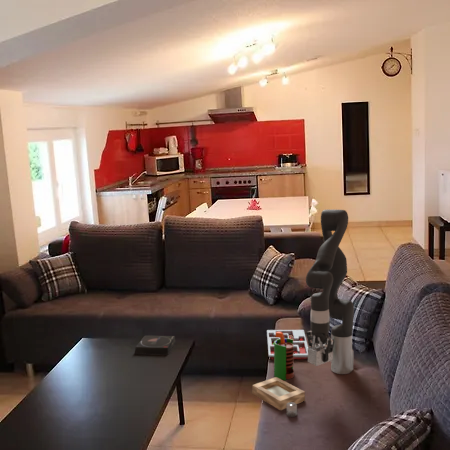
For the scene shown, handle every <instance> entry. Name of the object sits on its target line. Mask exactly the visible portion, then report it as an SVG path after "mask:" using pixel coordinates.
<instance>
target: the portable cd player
mask: <svg viewBox="0 0 450 450" xmlns="http://www.w3.org/2000/svg"><path fill="white" fill-rule="evenodd" d="M175 344H176V336H175V335H145V334H144V336H143V337H142V338H141V340H139V342H138V343H137V344H136V346H135V348H134V353H135V355H153V356H154V355H158V356H159V355H162V356H168V355H169V354H170V352H171V351H172V349H173V348H174V346H175Z"/></svg>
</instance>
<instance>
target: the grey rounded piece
mask: <svg viewBox="0 0 450 450" xmlns="http://www.w3.org/2000/svg"><path fill="white" fill-rule="evenodd" d="M285 409H286V416H287V417H291V418H293V417H296V416H297V415H298V404H296V403H293V402H289V403H287V404H286V408H285Z"/></svg>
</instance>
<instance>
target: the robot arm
mask: <svg viewBox="0 0 450 450" xmlns="http://www.w3.org/2000/svg"><path fill="white" fill-rule="evenodd" d="M348 225H349V215H348V212H347V210H345V209H323V210H322V211H321V213H320V226H321V227H320V228H321V233H322V234H321V235H322V239H323V243H322V244H321V246H319V248H318V251H317V255H316V258H315V261H314V263H313V264H312V266H311V267H310V269H309V270H308V272H307V274H306V276H305V284H306V286H307V287H309V288H311V289H320V290H321V289H322V292H317V293H316V292H315V293H313V294H312V295H311V296H310V330H308V331H306V334H305V335H306V340H307V345H308V347H312V346H315V345H318V344H320V347H321V348H322V350H323V362H326V363H328V362H327V361H328V354H329V353H331V352H333V360H332V361H330V364H331V366H330V368H331V369H330V370H331V372H333V373H335V374H338V375H346V374H350V373H352V371H353V370H354V349H353V328H354V315H355V314H354V313H355V309H354V308H355V307H354V306H355V305H354V303H353V301H351V300H348V299H343V298H339V297H338V292H339V288H340V286H341V285H342V283H343V282H344V280H345V278H346V276H347V274H348V264H347V257H346V255H345V253H344V252H343V250H342V249H341V248H340V243H341V242H342V240H343V238H344V235H345V233H346V231H347V229H348ZM330 318H331V319H333V320H339V321H342V323H341V324H335V325H333V326H332V327H330ZM330 328H331V331H330ZM329 332H331V334H330V336H329ZM330 337H331V338H330ZM323 344H325V345H323ZM325 348H326V350H325Z"/></svg>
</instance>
